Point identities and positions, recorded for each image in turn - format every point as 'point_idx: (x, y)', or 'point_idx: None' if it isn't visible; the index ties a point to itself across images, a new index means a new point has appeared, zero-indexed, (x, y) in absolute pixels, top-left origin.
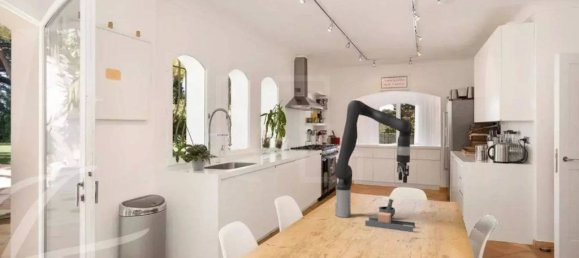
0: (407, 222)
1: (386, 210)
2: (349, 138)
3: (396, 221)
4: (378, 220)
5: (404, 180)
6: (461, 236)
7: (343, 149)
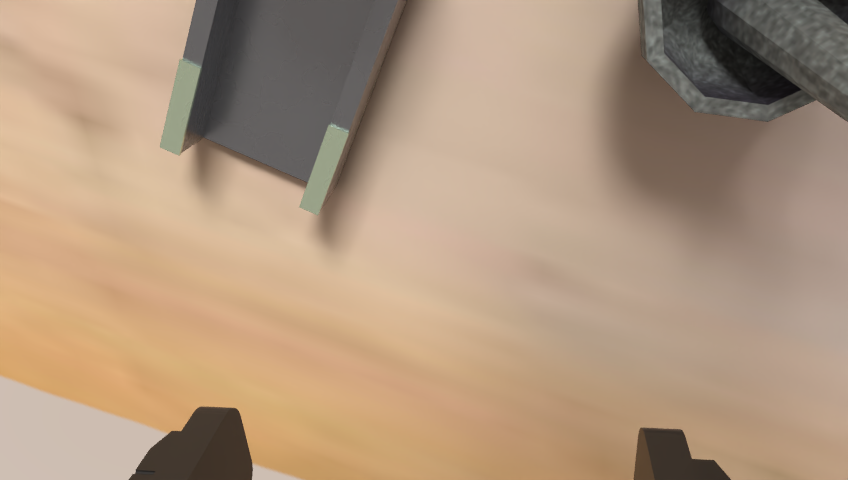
0: (324, 141)
1: None
2: None
3: (364, 30)
4: None
5: (137, 468)
6: None
7: None
